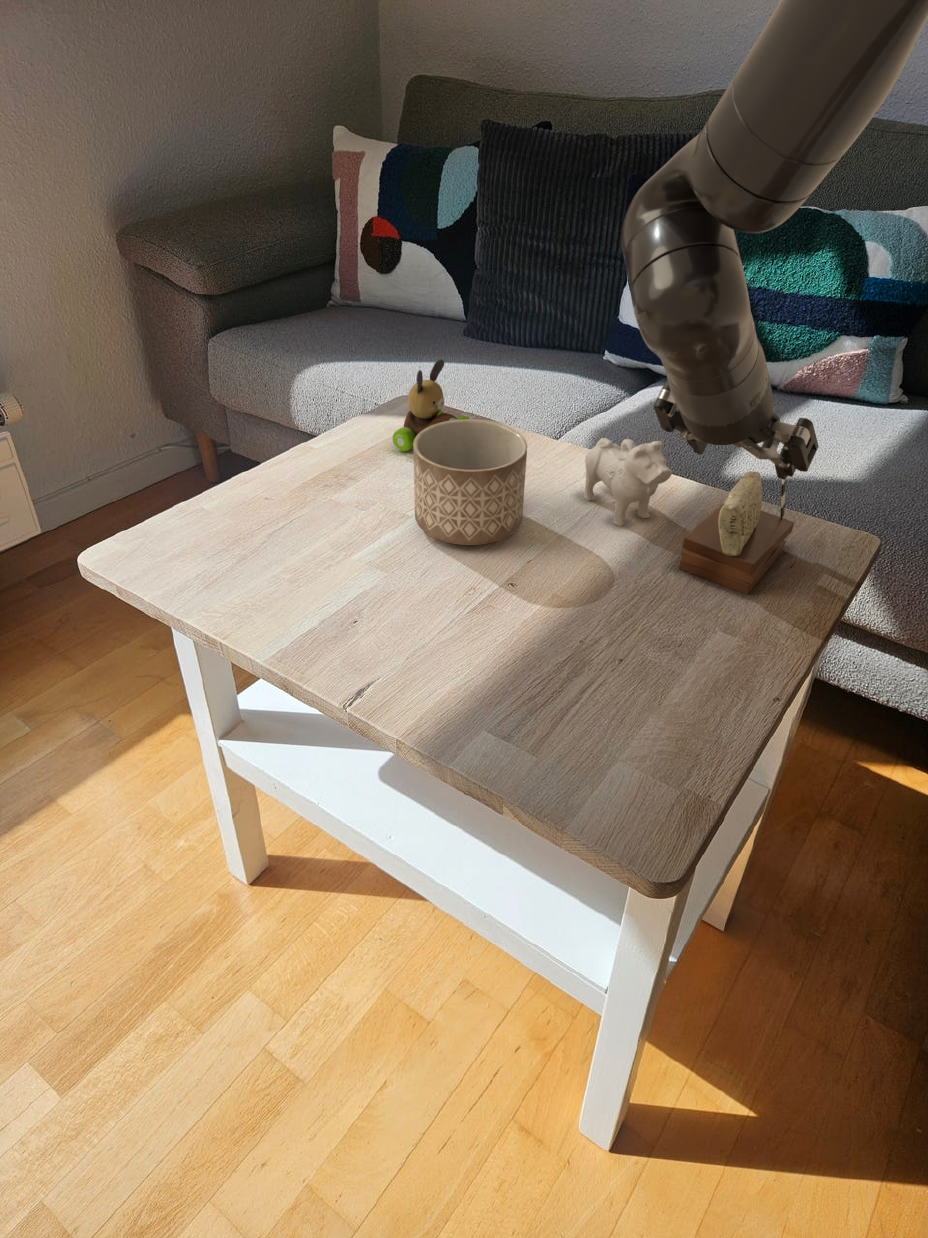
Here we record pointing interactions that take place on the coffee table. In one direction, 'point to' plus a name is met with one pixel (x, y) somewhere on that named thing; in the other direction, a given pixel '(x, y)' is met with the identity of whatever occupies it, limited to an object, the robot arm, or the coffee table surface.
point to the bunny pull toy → (423, 409)
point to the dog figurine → (626, 473)
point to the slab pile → (734, 571)
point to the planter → (469, 481)
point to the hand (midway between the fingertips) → (743, 457)
